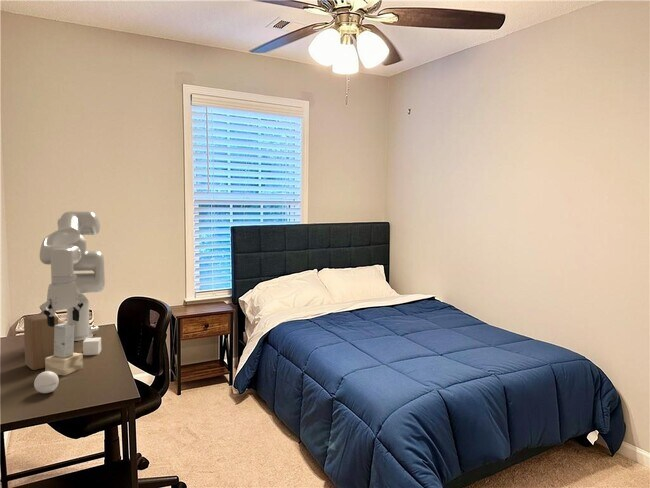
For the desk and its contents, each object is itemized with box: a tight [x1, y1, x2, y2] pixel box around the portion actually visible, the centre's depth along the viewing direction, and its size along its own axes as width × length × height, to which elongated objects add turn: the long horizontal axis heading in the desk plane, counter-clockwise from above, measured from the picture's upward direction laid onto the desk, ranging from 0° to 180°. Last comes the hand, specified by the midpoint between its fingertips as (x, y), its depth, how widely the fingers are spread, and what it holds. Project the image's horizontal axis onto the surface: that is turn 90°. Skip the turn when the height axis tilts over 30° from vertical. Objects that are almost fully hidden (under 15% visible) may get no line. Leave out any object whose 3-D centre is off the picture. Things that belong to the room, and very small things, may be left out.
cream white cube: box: [82, 336, 102, 356], centre depth 200 cm, size 6×6×6 cm
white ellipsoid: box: [33, 371, 67, 394], centre depth 157 cm, size 10×7×7 cm
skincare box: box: [54, 322, 75, 358], centre depth 178 cm, size 6×4×12 cm
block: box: [23, 313, 60, 371], centre depth 183 cm, size 10×10×20 cm
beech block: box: [44, 352, 84, 377], centre depth 178 cm, size 9×9×6 cm
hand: (63, 323), depth 178 cm, fingers open, 9 cm apart
